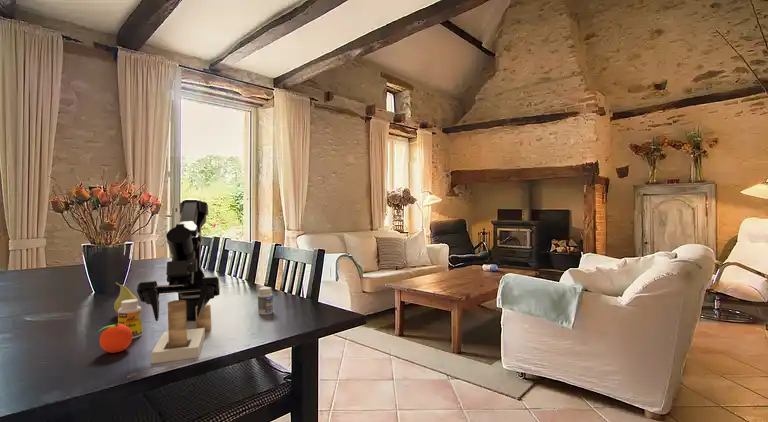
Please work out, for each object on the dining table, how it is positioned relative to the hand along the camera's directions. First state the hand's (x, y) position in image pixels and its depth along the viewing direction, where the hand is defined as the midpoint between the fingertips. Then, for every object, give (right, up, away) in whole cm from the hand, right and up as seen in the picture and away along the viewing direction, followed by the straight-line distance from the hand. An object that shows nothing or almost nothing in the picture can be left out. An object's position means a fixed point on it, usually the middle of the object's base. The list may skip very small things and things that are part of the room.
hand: (177, 318), depth 99 cm
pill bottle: (+11, -8, +35) cm, 38 cm away
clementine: (-17, -9, +2) cm, 19 cm away
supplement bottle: (-20, -9, +13) cm, 26 cm away
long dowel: (0, -9, 0) cm, 9 cm away
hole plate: (-1, -9, +3) cm, 9 cm away
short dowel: (-2, -8, +18) cm, 20 cm away
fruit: (-36, -9, +35) cm, 51 cm away
